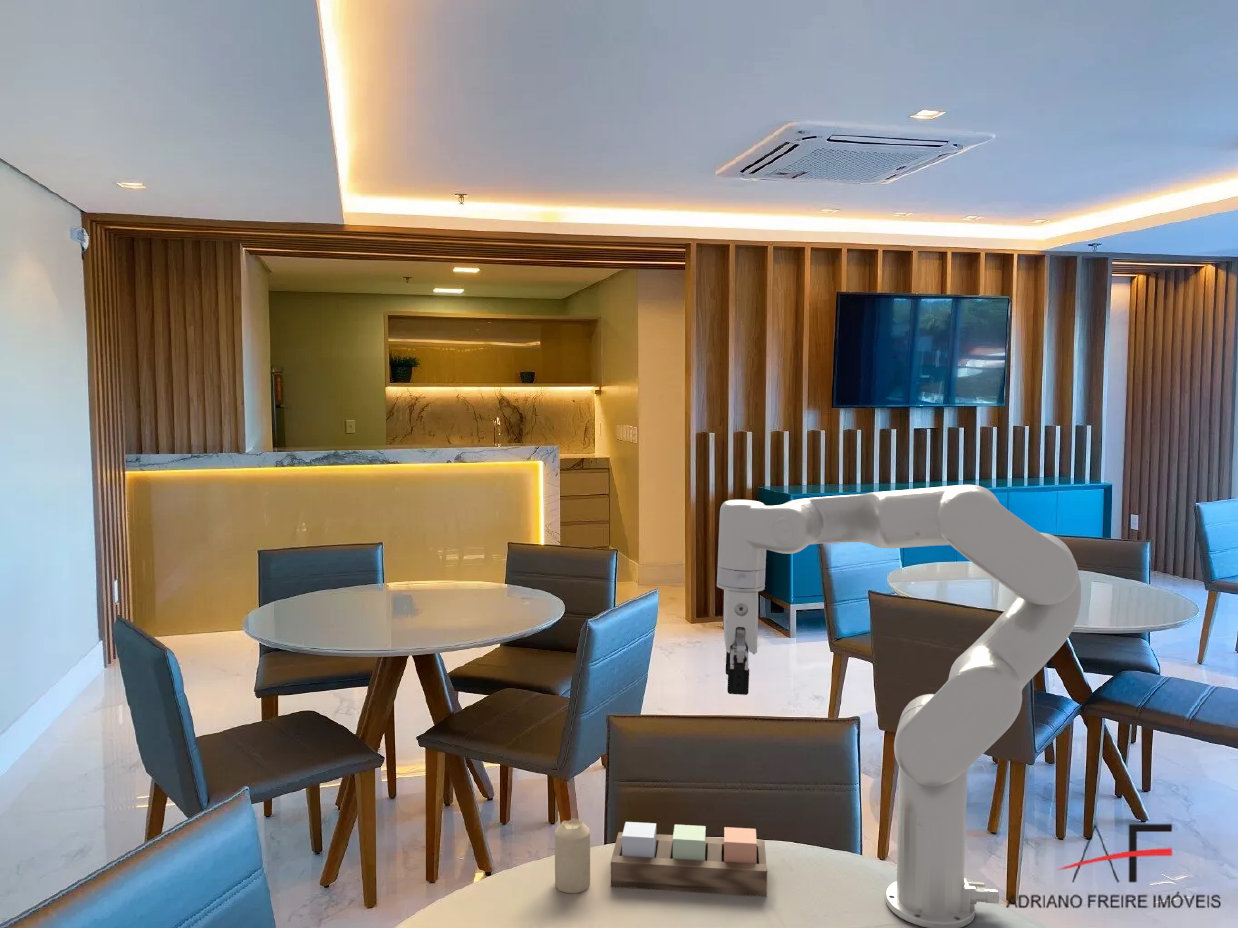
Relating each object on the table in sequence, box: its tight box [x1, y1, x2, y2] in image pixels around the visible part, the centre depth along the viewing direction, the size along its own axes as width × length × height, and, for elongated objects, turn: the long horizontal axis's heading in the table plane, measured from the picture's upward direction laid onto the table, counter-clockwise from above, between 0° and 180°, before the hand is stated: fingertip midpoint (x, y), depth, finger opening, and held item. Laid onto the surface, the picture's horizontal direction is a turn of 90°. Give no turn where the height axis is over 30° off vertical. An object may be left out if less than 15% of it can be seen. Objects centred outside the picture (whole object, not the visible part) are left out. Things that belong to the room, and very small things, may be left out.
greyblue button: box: [622, 821, 657, 858], centre depth 144 cm, size 5×5×4 cm
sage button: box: [672, 824, 707, 861], centre depth 143 cm, size 5×5×4 cm
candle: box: [554, 817, 591, 894], centre depth 140 cm, size 6×6×10 cm
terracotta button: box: [723, 826, 757, 864], centre depth 142 cm, size 5×5×4 cm
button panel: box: [610, 831, 768, 898], centre depth 143 cm, size 24×10×4 cm, turn 83°
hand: (736, 683), depth 144 cm, fingers open, 9 cm apart
